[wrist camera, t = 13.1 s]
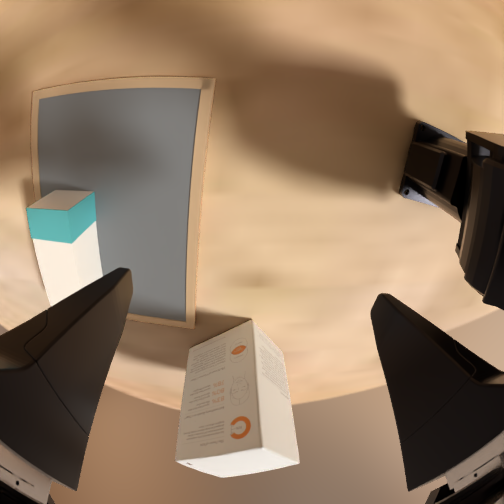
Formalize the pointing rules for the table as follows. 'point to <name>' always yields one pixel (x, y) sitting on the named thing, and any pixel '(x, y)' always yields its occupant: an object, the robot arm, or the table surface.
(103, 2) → the table surface
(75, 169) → the slate board
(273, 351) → the small box
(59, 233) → the marker
